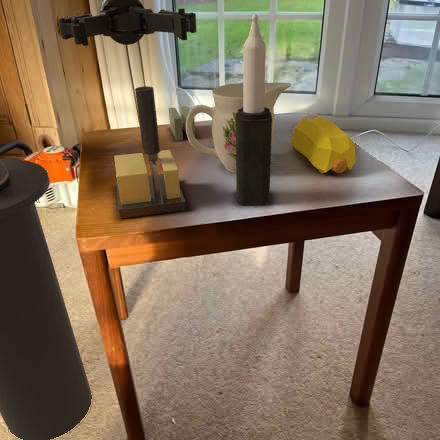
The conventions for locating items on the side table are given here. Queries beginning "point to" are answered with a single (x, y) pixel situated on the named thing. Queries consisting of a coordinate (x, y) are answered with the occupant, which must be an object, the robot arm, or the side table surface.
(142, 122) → the knife
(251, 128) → the candle
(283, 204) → the side table surface
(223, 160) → the pitcher
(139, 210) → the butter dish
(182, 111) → the knife stand
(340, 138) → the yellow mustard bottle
